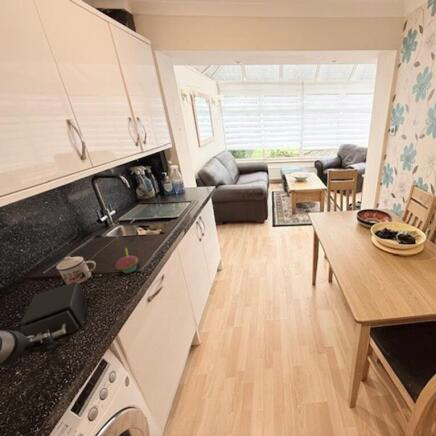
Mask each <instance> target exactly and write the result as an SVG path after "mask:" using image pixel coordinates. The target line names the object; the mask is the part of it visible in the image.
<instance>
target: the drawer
mask: <svg viewBox="0 0 436 436" xmlns="http://www.w3.org/2000/svg"><path fill="white" fill-rule="evenodd" d="M44 330H49V332H50V333H51V334H52V335H53V340H54V341H55V340H56V339H59V338H61V337H65V336H67V335H69V334H72V333H74V332H76V331H79V330H80V327H79V326H78V325H77V322H76V321H75V319H74V318H73V316H72V315H71V313H70V311H69V310H68V309H65V310H63V311H60V312H57V313H54V314H52V315H49V316H46V317H43V318H40V319H38V320H35V321H32V322H29V325H26V326H24V327H22V331H23V332H24V334H25V335H26V336H30V335H34V336H35V337H36V336H39V333H42V332H43V331H44Z"/></svg>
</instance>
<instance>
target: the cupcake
mask: <svg viewBox="0 0 436 436" xmlns="http://www.w3.org/2000/svg"><path fill="white" fill-rule="evenodd" d="M124 251H125V256H122V257H121V258H119V259H118V260H117V261H116V262H115V264H114V267H115V269H116V270H118V271H121V272H122V273H124V274H130V273H132V272H134V271H136V270H137V264H138V262H139V259H138V256H136V255H130V254H129V251H128V248H127V247H125V248H124Z"/></svg>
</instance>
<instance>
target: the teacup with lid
mask: <svg viewBox="0 0 436 436" xmlns="http://www.w3.org/2000/svg"><path fill="white" fill-rule="evenodd" d="M87 264H92V265H93V267H92V268H90V269H89V266H88V265H87ZM96 267H97V264H96V262H95V261H94V260H87V261H85V257H83V256H72V257H71V256H69V255H68V256H66V257H64V259H63V260H62V261H60V262H59V263H58V264H57V265H56V267H55V268H56V270H57V271H58V273H59V274H60V276H61V278H62V279H63V281H64V283H65V285H67V284H70V283H74V282H77V283H78V284H79V285H80V284H81V283H84V282H85V281H87V280H89V278H91V276H92V272H93V271H94V270H95V269H96Z"/></svg>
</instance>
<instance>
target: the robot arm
mask: <svg viewBox="0 0 436 436" xmlns="http://www.w3.org/2000/svg"><path fill="white" fill-rule="evenodd" d="M54 341H55V339H54V340H53V335H52V334H51V333H50V332H49V330H44V331H43V332H42V333H39V336H36V337H35V336H34V335H30V336H27V335H26V334H25V335H24V333H22V332H20V331H18V330H12V329H11V330H10V329H8V330H7V329H4V330H3V329H0V368H4V367H7V366H8V365H11V364H12V363H14V362H15V361H16V360H17V359H20V358H22V357H24V355H31V354H33V353H34V352H35V353H39V352H45V351H49V350H52V349H55V342H54Z"/></svg>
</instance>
